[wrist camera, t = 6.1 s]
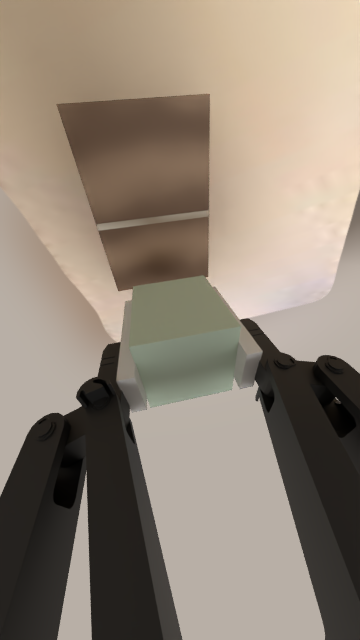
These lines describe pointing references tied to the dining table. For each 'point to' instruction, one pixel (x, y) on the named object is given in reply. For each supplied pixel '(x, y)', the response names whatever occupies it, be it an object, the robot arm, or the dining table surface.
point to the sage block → (182, 340)
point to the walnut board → (146, 183)
